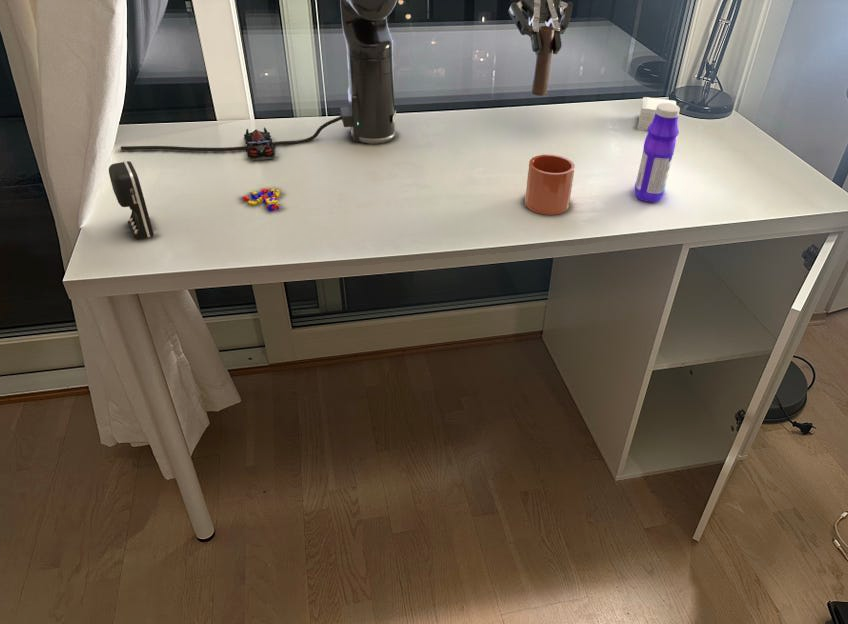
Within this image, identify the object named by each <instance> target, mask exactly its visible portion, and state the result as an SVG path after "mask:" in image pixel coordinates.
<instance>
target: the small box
mask: <svg viewBox="0 0 848 624" xmlns="http://www.w3.org/2000/svg"><path fill="white" fill-rule="evenodd" d="M661 103H671V104H675V105H677V100H673V99H666V98H665V99H663V98H656V97H648V96H643V97H642V99H641V104H640V110H639V115H638V116H639V118H638V125H637V130H641V131H648V130H647V129H648V126H649V125H650V124H651V123H652V121H653V119H654V116H655V113H656V109H657V105H658V104H661Z"/></svg>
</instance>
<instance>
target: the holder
mask: <svg viewBox="0 0 848 624" xmlns="http://www.w3.org/2000/svg"><path fill="white" fill-rule="evenodd" d="M575 166H576V165H575V163H574V162H573V160H570V159H569V158H567V157H564V156H562V155H556V154H540V155H536V156H533V157H532V158H531V159H529V161H528V170H527V178H526V188H525V197H524V205H525V207H527V209H529V211H532V212H533V213H536V214H540V215H546V216H554V215H555V216H556V215H560V214H563V213H565V212H567V211H568V209H569V206H570V201H571V194H572V188H573V182H574V175H575V168H576V167H575Z"/></svg>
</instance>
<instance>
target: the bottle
mask: <svg viewBox="0 0 848 624" xmlns="http://www.w3.org/2000/svg"><path fill="white" fill-rule="evenodd" d="M680 111H681V108H680V106H679V105H677V104H676V105H675V104H671V103H661V104H658V105H657V109H656V113H655V116H654V119H653V121H652V123H651V124H650V125H649V126H648V129H647V130H646V131H647V132H648V133H647V135H646V137H645V140H644V143H643V149H642V155H641V158H640V164H639V167H638V172H637V176H636V181H635V183H634V194H635V196H636V198H637V199H638V200H641V201H645V202H649V203H650V202H653V203H657V202H659V201H661V199H662V198H663V197H664V195H665V192H666V185H667V180H668V176H669V172H670V167H671V164H672V160H673V156H674V153H675V150H676V145H677V144H676V143H677V137H678V136H679V133H680V130H679V126H678V122H679V121H678V120H679V115H680Z"/></svg>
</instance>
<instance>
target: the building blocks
mask: <svg viewBox="0 0 848 624" xmlns="http://www.w3.org/2000/svg"><path fill="white" fill-rule="evenodd" d="M264 194H265V195H264ZM280 195H281V193H280V189H276V188H274V187H272V186H269V188H262V189H261V190H260V192H257V191H255V190H254V191H252V190H249V196H250V197H251V200H250V198H249V197H247V196H246V195H245V196H242V200H243V201H244V202H245V203H246V202H248V205H249V206H257V205H259V204H260V203H261V204H262V203H263V204H264V205H265V207H266V208H267V210H268V211H269V212H273V211H278V210H279V209H280V207H279V201H278V199H277V198H280ZM254 200H256V201H254Z"/></svg>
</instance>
